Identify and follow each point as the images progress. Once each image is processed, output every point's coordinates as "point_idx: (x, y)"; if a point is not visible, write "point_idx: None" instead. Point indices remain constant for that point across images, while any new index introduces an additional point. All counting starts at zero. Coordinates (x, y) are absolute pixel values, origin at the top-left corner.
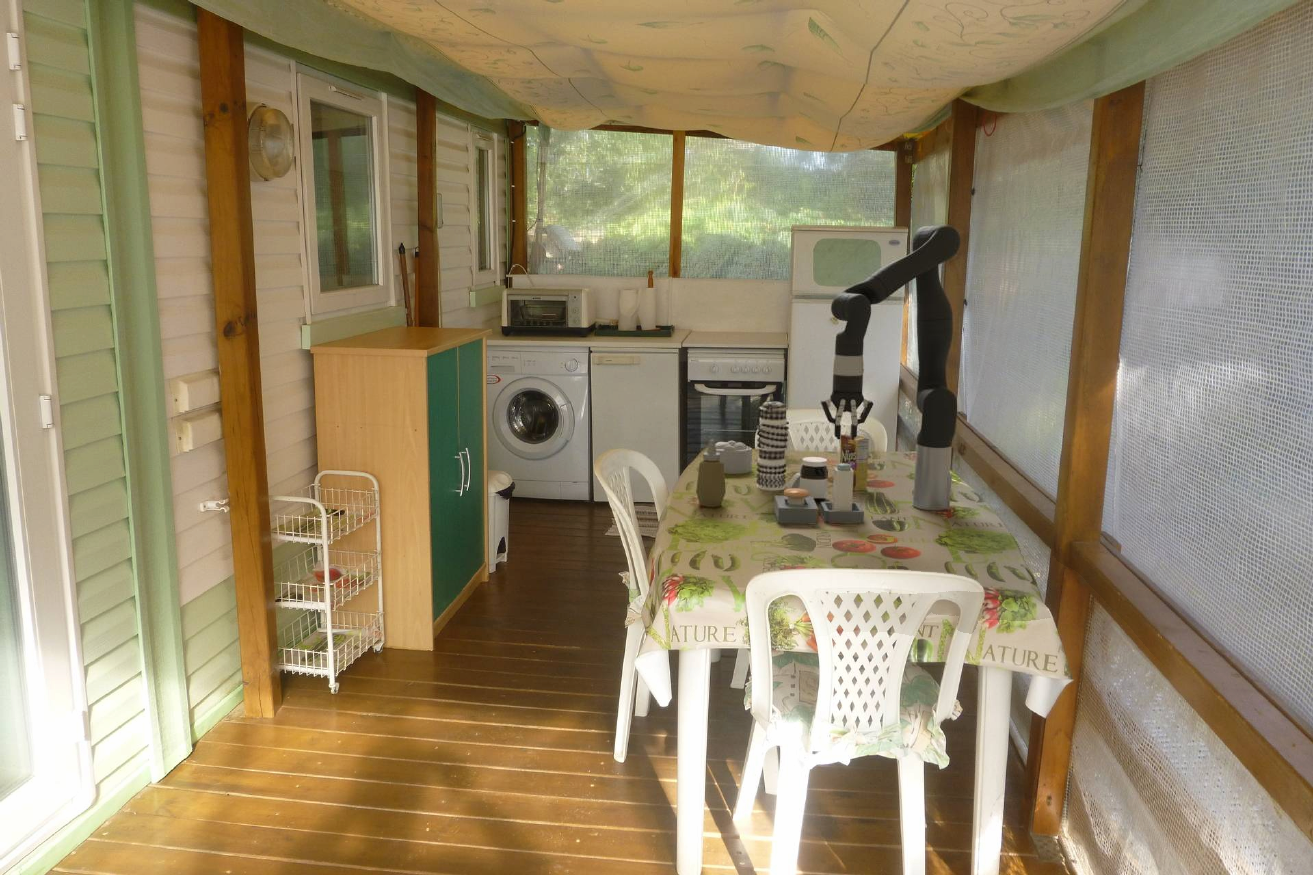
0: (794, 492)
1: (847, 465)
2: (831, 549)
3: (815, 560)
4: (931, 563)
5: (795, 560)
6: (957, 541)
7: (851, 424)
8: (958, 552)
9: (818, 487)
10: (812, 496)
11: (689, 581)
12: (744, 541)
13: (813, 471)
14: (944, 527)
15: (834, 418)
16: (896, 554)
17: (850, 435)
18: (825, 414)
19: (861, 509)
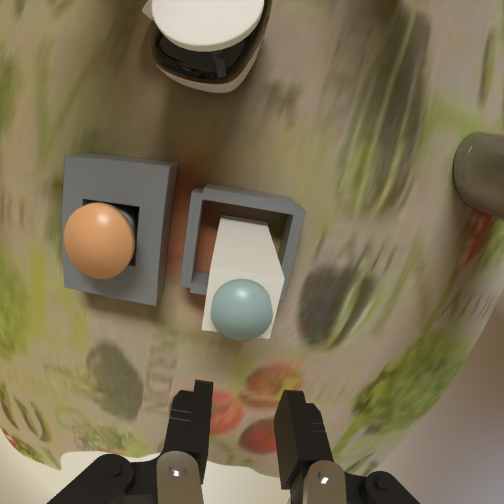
0: (89, 256)
1: (253, 327)
2: (164, 420)
3: (136, 445)
4: None
5: (110, 440)
6: (389, 394)
7: (300, 463)
8: (355, 433)
9: (211, 89)
10: (169, 170)
11: (22, 447)
12: (36, 363)
13: (188, 61)
14: (423, 324)
15: (149, 500)
16: (261, 442)
17: (286, 402)
18: (64, 492)
19: (285, 282)
